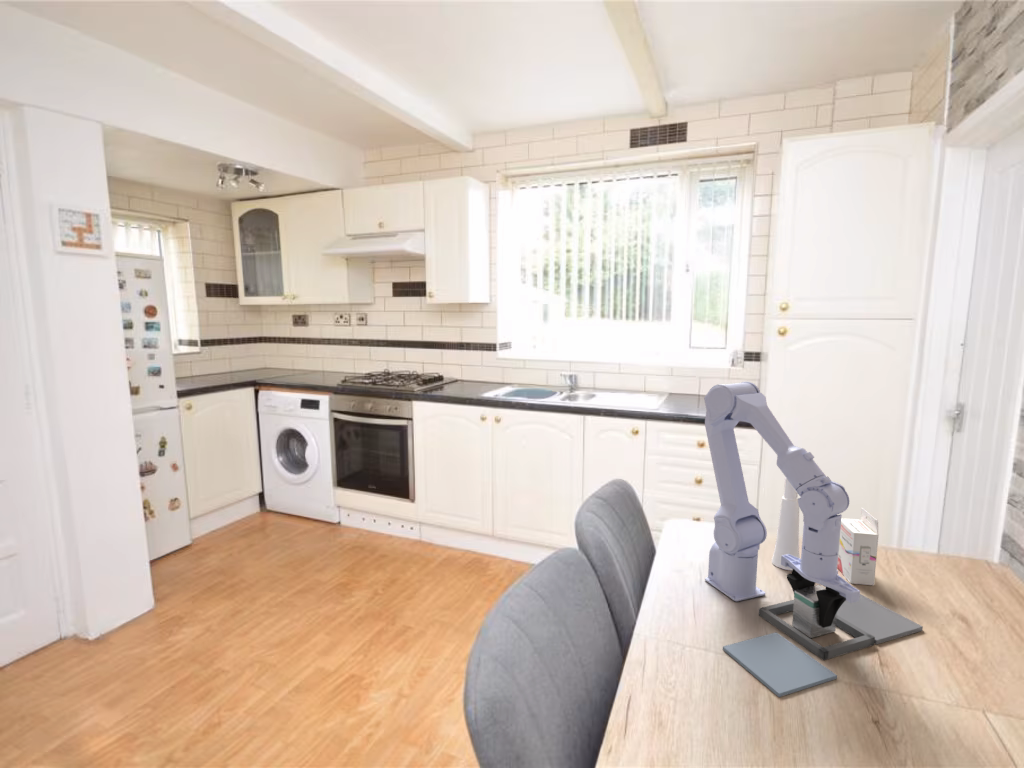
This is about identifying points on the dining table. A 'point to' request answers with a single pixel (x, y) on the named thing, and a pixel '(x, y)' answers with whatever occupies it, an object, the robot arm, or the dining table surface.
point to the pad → (779, 664)
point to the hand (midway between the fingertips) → (814, 618)
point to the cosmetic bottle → (787, 527)
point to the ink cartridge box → (858, 549)
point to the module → (809, 612)
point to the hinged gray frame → (848, 626)
